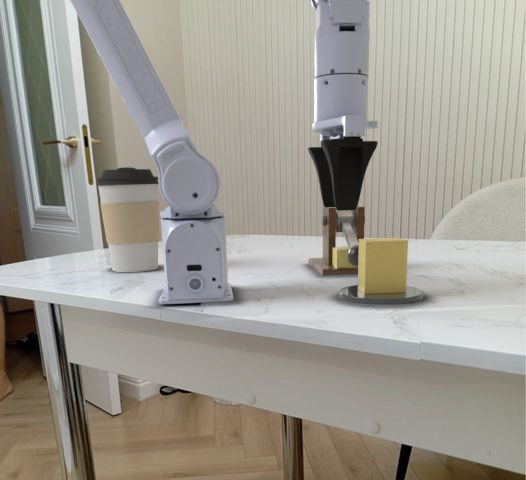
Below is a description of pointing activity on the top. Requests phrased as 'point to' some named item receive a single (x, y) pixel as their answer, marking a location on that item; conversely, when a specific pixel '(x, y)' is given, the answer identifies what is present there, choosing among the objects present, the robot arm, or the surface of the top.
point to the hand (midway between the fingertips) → (339, 208)
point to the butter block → (341, 258)
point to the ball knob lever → (348, 234)
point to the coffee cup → (130, 218)
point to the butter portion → (382, 265)
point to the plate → (380, 296)
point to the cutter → (329, 241)
